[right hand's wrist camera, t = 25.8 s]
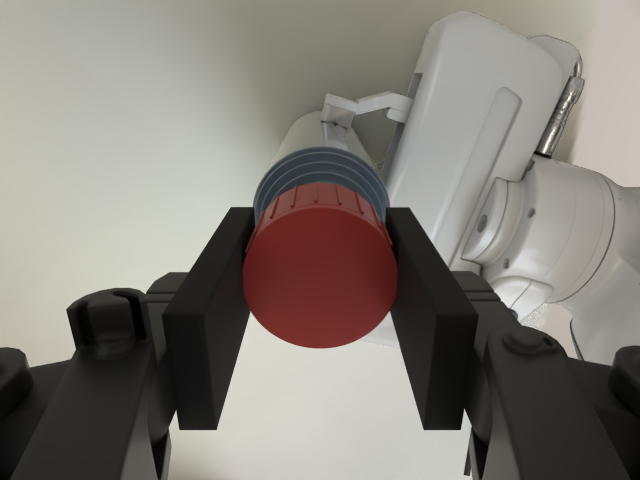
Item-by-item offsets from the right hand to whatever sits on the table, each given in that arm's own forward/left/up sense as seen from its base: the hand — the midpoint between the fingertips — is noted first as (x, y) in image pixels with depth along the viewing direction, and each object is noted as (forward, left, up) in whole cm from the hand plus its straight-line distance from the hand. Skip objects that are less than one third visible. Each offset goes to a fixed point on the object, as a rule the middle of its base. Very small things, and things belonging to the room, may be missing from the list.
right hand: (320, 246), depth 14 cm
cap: (0, 0, +2) cm, 2 cm away
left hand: (0, -1, -13) cm, 13 cm away
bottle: (0, 0, -19) cm, 19 cm away
